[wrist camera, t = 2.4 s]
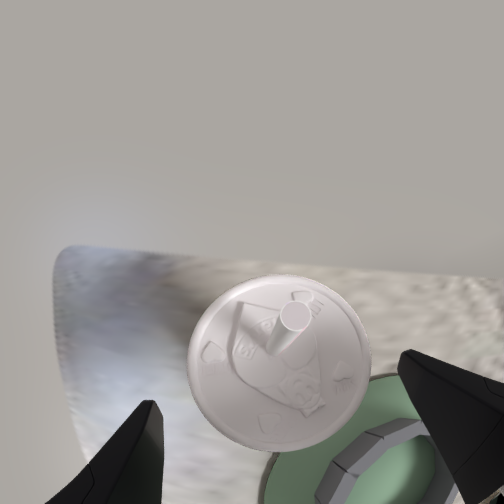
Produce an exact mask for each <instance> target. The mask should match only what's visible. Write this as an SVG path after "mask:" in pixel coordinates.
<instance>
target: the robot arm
mask: <svg viewBox="0 0 504 504" xmlns="http://www.w3.org/2000/svg"><path fill="white" fill-rule="evenodd" d="M397 371H398V374H399V376H400V379H401V381H402V383H403V385H404V387H405V389H406V392H407V394H408V396H409V398H410V400H411V402H412V404H413V406H414V408H415V409H416V411H417V413H418V415H419V416H420V418H421V420H422V421H423V423H424V425H425V427H426V428H427V430H428V432H429V434H430V436H431V437H432V439H433V441H434V443H435V445H436V446H437V448H438V450H439V452H440V454H441V456H442V458H443V460H444V461H445V463H446V465H447V467H448V469H449V471H450V473H451V475H452V477H453V479H454V481H455V483H456V485H457V487H458V490H459V492H460V494H461V496H462V498H463V500H464V502H465V504H479V503H480V502H482V501H483V500H484V499H486V498H487V497H489V496H490V495H491V494H493V493H494V492H495V491H497V490H498V489H499V490H500V493H498V494H497V495H496V496H495V497H494V498H493V499H492V500H491V501H490V504H504V383H501V382H498V381H495V380H492V379H489V378H486V377H483V376H481V375H478V374H475V373H472V372H470V371H467V370H464V369H462V368H459V367H456V366H454V365H451V364H449V363H446V362H443V361H441V360H438V359H436V358H433V357H430V356H428V355H425V354H423V353H420V352H418V351H415V350H413V349H409V350H406V351H404V352H402V353H401V356H400V360H399V363H398V367H397ZM163 467H164V431H163V416H162V413H161V411H160V409H159V407H158V406H157V404H156V402H155V401H154V400H143V401H142V402H141V403H140V404H139V405H138V407H137V408H136V409H135V410H134V411H133V412H132V414H131V415H130V416H129V417H128V418H127V419H126V421H125V422H124V423H123V424H122V425H121V426H120V427H119V429H118V430H117V431H116V432H115V433H114V434H113V436H112V437H111V438H110V439H109V440H108V441H107V442H106V444H105V445H104V446H103V447H102V448H101V449H100V450H99V452H98V453H97V454H96V455H95V456H94V457H93V458H92V460H91V461H90V462H89V464H87V465H86V466H85V468H84V469H83V470H82V471H81V472H80V473H79V474H78V475H77V476H76V477H75V478H74V479H73V480H72V481H71V482H70V483H69V484H68V485H67V486H65V487H64V488H63V489H62V490H61V491H60V492H59V493H57V494H56V495H55V496H54V497H53V498H51V499H50V500H49V501H48V502H46V503H45V504H161V500H162V482H163Z"/></svg>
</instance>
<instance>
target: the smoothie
mask: <svg viewBox="0 0 504 504" xmlns="http://www.w3.org/2000/svg"><path fill="white" fill-rule="evenodd" d="M370 374H371V350H370V345H369V340H368V337H367V334H366V331H365V329H364V326H363V324H362V322H361V320H360V319H359V317H358V315H357V314H356V312H355V311H354V310H353V308H352V307H351V306H350V305H349V304H348V303H347V302H346V301H345V300H344V299H343V298H342V297H341V296H340V295H339V294H337V293H336V292H335V291H333V290H332V289H330V288H328V287H327V286H325V285H323V284H321V283H319V282H317V281H314V280H311V279H308V278H305V277H301V276H295V275H286V274H274V275H265V276H260V277H256V278H252V279H249V280H246V281H244V282H241V283H239V284H237V285H235V286H233V287H232V288H230V289H228V290H227V291H225V292H224V293H223V294H221V295H220V296H219V297H218V298H217V299H216V300H215V301H213V302H212V303H211V305H210V306H209V307H208V308H207V309H206V310H205V312H204V313H203V315H202V316H201V318H200V319H199V321H198V323H197V324H196V327H195V329H194V331H193V333H192V336H191V339H190V343H189V347H188V354H187V376H188V381H189V386H190V389H191V392H192V395H193V397H194V400H195V402H196V404H197V406H198V407H199V409H200V411H201V412H202V414H203V415H204V417H205V418H206V419H207V420H208V421H209V422H210V424H211V425H212V426H213V427H215V428H216V429H217V430H218V431H219V432H220V433H222V434H223V435H224V436H226V437H227V438H229V439H231V440H232V441H234V442H236V443H238V444H241V445H243V446H246V447H249V448H252V449H256V450H260V451H267V452H289V451H295V450H300V449H304V448H307V447H310V446H313V445H315V444H318V443H320V442H322V441H324V440H325V439H327V438H329V437H330V436H332V435H333V434H335V433H336V432H337V431H338V430H340V429H341V428H342V427H343V426H344V425H345V424H346V423H347V422H348V421H349V420H350V418H351V417H352V416H353V415H354V413H355V412H356V410H357V409H358V407H359V406H360V404H361V402H362V400H363V398H364V396H365V393H366V390H367V387H368V384H369V379H370Z"/></svg>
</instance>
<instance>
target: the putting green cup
mask: <svg viewBox="0 0 504 504" xmlns="http://www.w3.org/2000/svg"><path fill="white" fill-rule="evenodd" d="M458 491H459V490H458V487H457V485H456V483H455V481H454V479H453V477H452V475H451V473H450V471H449V469H448V467H447V465H446V463H445V461H444V460H443V458H442V456H441V454H440V452H439V450H438V448H437V446H436V445H435V443H434V441H433V439H432V437H431V436H430V434H429V432H428V430H427V428H426V427H425V425H424V423H423V421H422V420H421V418H420V416H419V415H418V413H417V411H416V409H415V408H414V406H413V404H412V402H411V400H410V398H409V396H408V394H407V392H406V389H405V387H404V385H403V383H402V381H401V379H400V376H399V375H397V376H389V377H384V378H380V379H376V380H373V381H370V382H369V384H368V387H367V390H366V393H365V396H364V398H363V400H362V402H361V404H360V406H359V407H358V409H357V410H356V412H355V413H354V415H353V416H352V417H351V418H350V420H349V421H348V422H347V423H346V424H345V425H344V426H343V427H342V428H341V429H340V430H338V431H337V432H336V433H335V434H333V435H332V436H330V437H329V438H327V439H325V440H324V441H322V442H320V443H318V444H315V445H313V446H310V447H307V448H304V449H300V450H295V451H289V452H281V453H280V455H279V457H278V458H277V460H276V462H275V464H274V466H273V468H272V470H271V473H270V475H269V477H268V481H267V485H266V489H265V494H264V504H452V503H453V501H454V499H455V497H456V495H457V493H458Z"/></svg>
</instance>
